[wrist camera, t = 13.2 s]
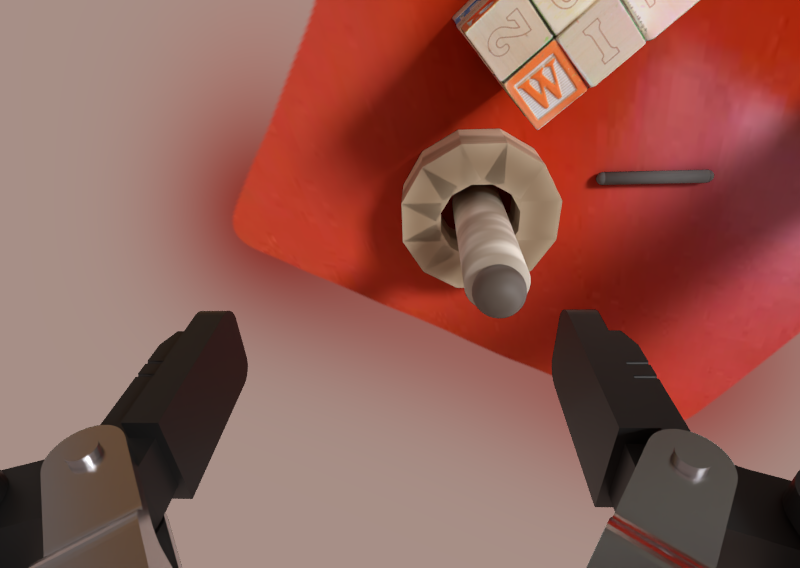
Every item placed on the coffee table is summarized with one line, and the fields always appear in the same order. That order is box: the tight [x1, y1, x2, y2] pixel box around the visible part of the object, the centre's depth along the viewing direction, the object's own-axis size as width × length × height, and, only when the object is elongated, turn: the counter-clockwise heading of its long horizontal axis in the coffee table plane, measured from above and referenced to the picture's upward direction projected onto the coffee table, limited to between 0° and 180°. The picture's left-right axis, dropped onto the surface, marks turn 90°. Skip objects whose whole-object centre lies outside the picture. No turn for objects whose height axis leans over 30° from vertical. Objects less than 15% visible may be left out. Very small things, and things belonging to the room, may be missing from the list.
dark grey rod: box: [596, 170, 714, 185], centre depth 37 cm, size 9×1×1 cm, turn 92°
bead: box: [401, 129, 562, 288], centre depth 38 cm, size 12×12×4 cm
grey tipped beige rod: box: [452, 184, 531, 318], centre depth 33 cm, size 4×4×15 cm
